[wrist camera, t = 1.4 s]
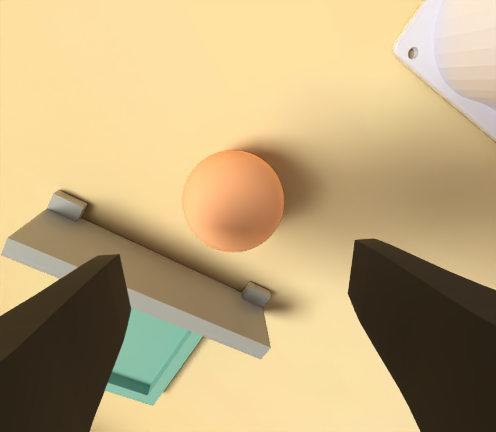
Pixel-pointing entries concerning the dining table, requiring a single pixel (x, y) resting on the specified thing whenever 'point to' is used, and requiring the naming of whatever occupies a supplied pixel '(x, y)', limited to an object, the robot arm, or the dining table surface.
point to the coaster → (149, 357)
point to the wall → (144, 277)
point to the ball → (233, 201)
